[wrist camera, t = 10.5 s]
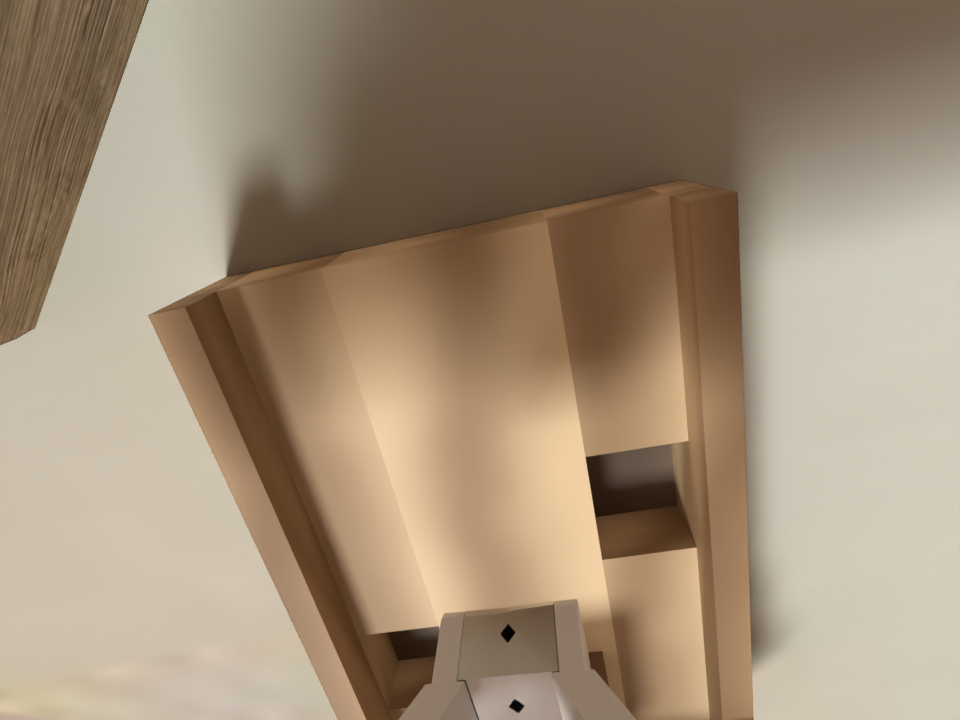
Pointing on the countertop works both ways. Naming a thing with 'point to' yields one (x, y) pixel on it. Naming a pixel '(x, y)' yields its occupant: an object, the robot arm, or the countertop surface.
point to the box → (495, 442)
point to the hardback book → (51, 132)
